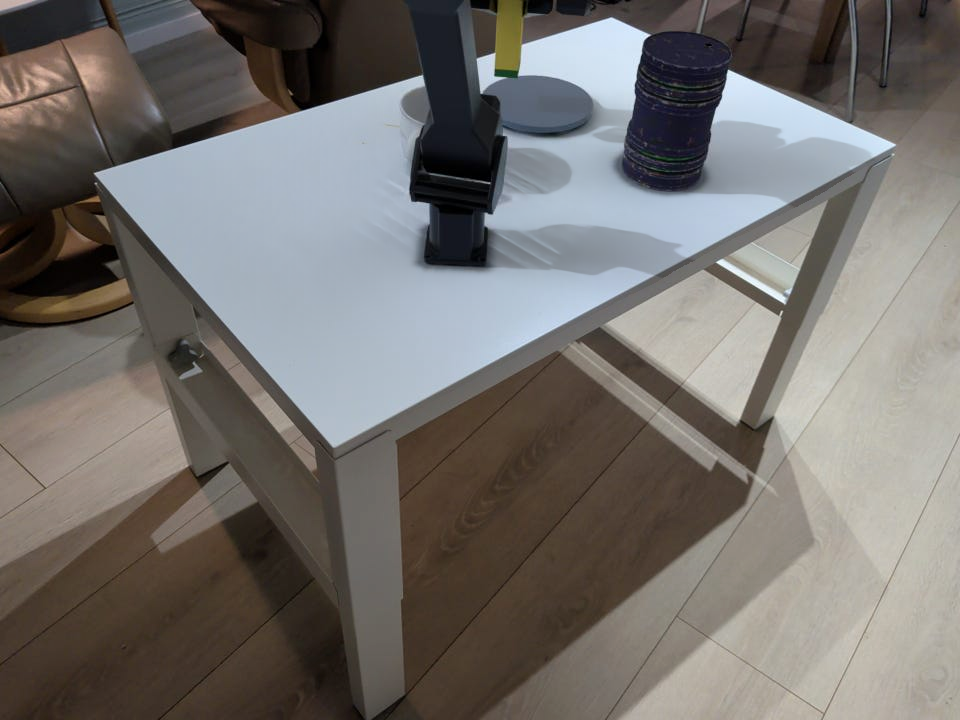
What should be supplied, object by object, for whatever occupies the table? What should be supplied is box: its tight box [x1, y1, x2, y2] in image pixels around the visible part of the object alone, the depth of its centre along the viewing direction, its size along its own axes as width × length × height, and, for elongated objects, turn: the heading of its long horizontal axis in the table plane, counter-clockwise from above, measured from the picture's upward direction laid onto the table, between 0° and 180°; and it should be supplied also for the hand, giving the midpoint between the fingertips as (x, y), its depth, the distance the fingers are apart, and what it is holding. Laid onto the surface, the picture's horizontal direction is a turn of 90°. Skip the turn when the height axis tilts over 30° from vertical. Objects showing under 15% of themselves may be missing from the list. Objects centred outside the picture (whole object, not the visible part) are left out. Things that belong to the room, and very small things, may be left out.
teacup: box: [398, 85, 459, 179], centre depth 93 cm, size 14×11×8 cm
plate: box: [481, 74, 594, 134], centre depth 107 cm, size 15×15×1 cm
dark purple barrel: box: [621, 30, 733, 192], centre depth 92 cm, size 10×10×15 cm
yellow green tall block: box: [493, 0, 525, 78], centre depth 98 cm, size 3×4×14 cm, turn 173°
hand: (511, 12), depth 99 cm, fingers closed on yellow green tall block, 3 cm apart
